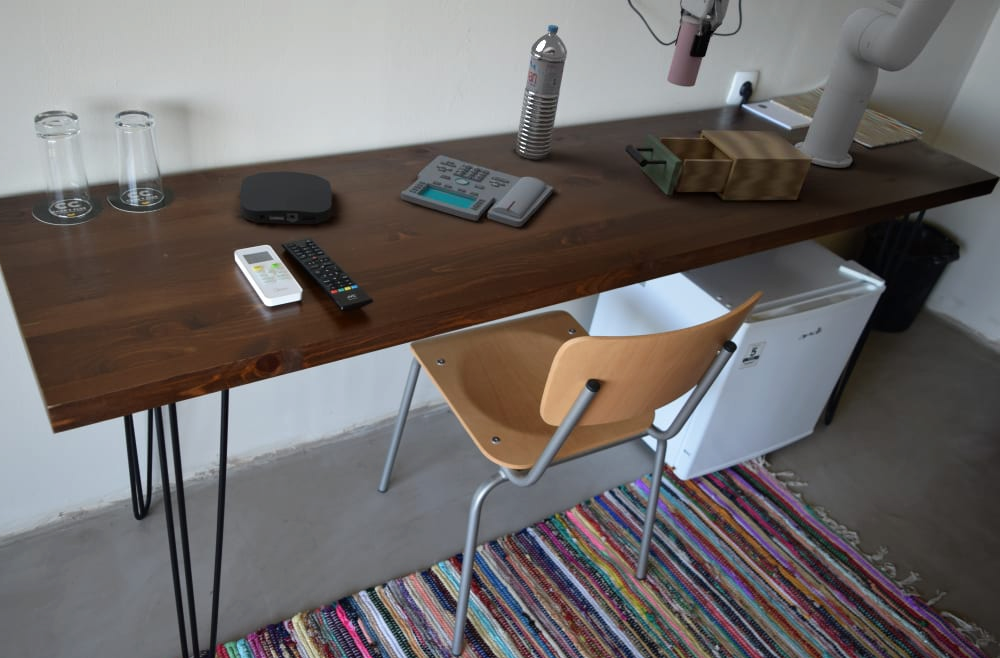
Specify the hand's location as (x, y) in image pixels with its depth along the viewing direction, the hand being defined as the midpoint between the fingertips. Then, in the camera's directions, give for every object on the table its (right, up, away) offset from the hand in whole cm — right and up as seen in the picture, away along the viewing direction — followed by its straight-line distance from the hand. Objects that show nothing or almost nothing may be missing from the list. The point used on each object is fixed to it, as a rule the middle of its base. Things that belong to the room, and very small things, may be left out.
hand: (689, 50), depth 159 cm
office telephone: (-43, -32, -14) cm, 55 cm away
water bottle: (-31, -19, +5) cm, 37 cm away
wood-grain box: (+12, -26, +4) cm, 29 cm away
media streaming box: (-74, -36, -25) cm, 86 cm away
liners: (-1, -5, +4) cm, 6 cm away
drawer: (-3, -26, 0) cm, 26 cm away
